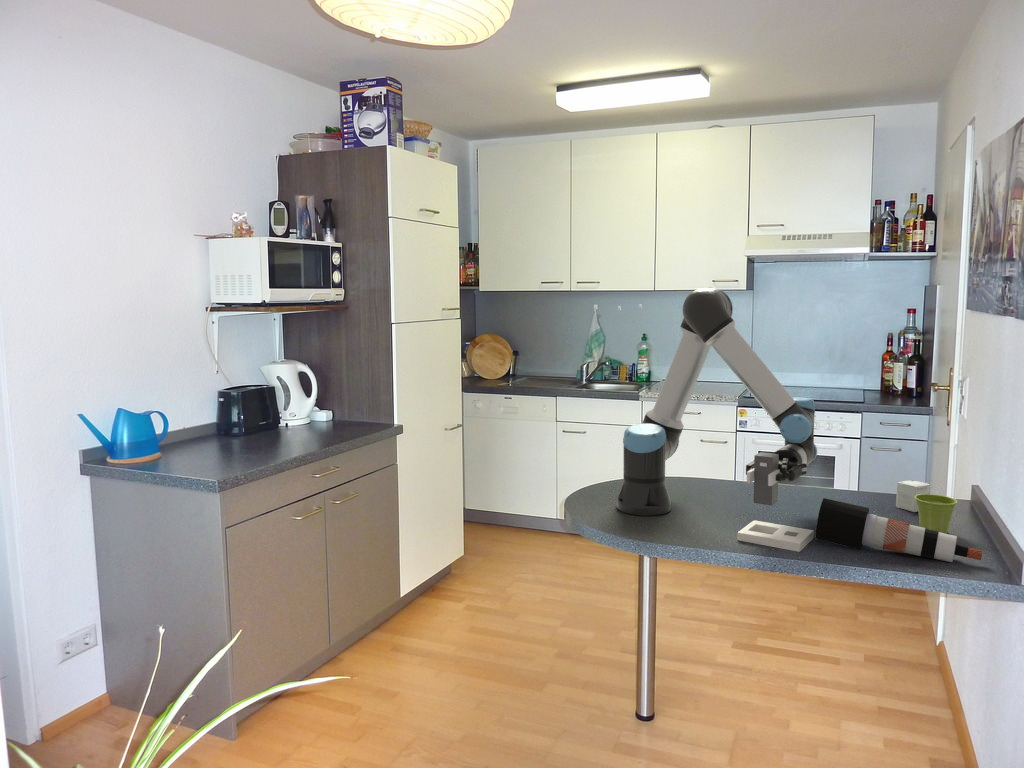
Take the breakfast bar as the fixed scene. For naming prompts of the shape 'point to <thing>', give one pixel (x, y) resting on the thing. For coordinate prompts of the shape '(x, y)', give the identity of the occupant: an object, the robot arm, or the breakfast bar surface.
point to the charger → (765, 478)
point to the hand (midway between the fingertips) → (759, 479)
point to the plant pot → (935, 511)
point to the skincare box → (910, 494)
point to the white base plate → (776, 535)
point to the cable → (884, 533)
